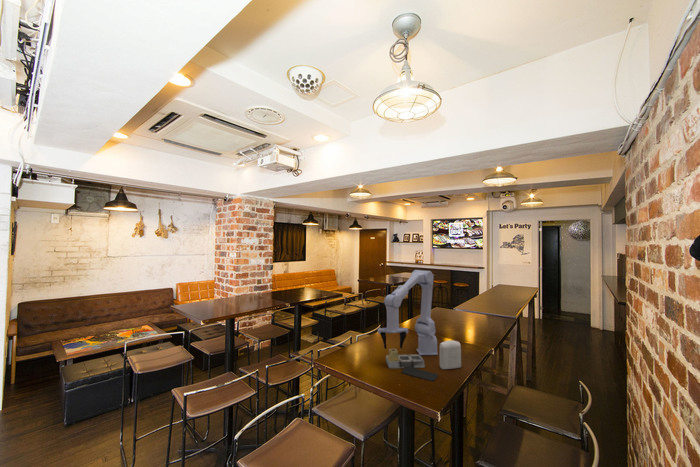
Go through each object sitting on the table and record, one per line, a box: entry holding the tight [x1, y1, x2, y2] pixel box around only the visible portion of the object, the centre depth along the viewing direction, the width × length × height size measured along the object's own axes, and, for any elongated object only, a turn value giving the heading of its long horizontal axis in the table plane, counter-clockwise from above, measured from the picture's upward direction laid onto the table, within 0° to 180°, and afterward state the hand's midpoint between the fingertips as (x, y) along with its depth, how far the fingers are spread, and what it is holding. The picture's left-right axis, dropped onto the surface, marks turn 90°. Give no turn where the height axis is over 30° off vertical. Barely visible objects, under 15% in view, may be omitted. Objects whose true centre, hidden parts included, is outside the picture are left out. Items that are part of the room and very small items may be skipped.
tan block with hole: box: [386, 348, 400, 361], centre depth 136 cm, size 5×5×7 cm
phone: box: [401, 367, 439, 382], centre depth 126 cm, size 7×1×15 cm
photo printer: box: [438, 340, 462, 370], centre depth 132 cm, size 10×4×12 cm, turn 103°
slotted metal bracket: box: [385, 353, 425, 369], centre depth 136 cm, size 17×8×3 cm, turn 92°
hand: (393, 348), depth 136 cm, fingers open, 7 cm apart
